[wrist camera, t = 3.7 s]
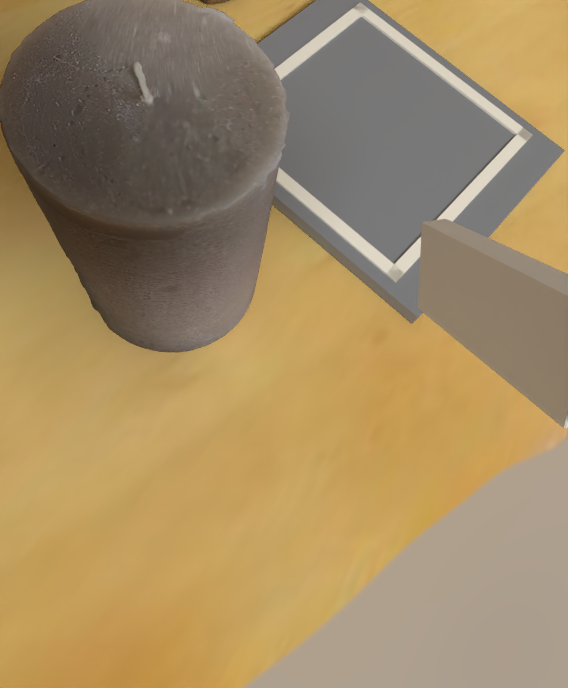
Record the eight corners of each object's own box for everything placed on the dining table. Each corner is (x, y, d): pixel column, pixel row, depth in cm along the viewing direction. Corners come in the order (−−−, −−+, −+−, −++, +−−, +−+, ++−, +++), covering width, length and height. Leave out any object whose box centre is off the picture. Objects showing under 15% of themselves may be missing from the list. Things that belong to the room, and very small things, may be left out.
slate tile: (172, 119, 34) (171, 106, 33) (339, -7, 39) (342, -22, 38) (411, 323, 31) (418, 316, 30) (555, 160, 37) (566, 149, 35)
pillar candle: (55, 313, 29) (-94, 123, 15) (135, 177, 32) (75, -87, 18) (219, 380, 29) (227, 254, 15) (282, 237, 32) (338, 21, 18)
